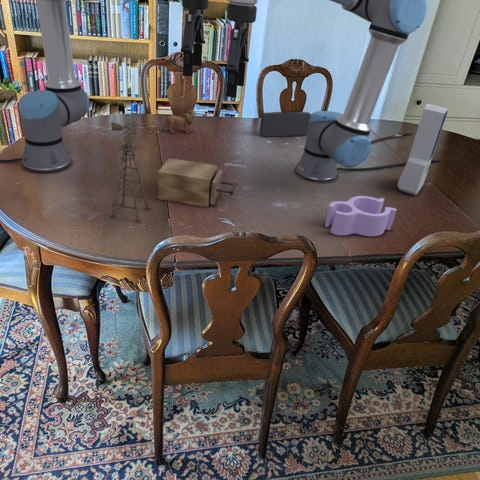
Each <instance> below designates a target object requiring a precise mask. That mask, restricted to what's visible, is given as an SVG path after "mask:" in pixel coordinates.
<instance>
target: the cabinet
mask: <svg viewBox="0 0 480 480" xmlns="http://www.w3.org/2000/svg"><path fill="white" fill-rule="evenodd" d="M218 168H219V167H218V165H216V164H209V163H205V162H204V163H203V162H198V161H197V162H196V161H190V160H185V159H184V160H183V159H179V158H178V159H177V158H172V157H169V158H167V160H166V161H165V162H164V164H163V165H162V166H161V168H160V169H159V170H158V171H157V175H158V176H157V180H158V181H157V184H158V185H157V189H158V190H157V191H158V192H157V198H158V200H160V201H161V200H162V201H167V202H174V203H181V204H185V205H191V206H197V207H203V208H209V206H210V205H211V193H210V195H209V192H210V181H211V179H212V177H213V180H214V178H215V176H216V174H217V172H218Z"/></svg>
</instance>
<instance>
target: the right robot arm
mask: <svg viewBox="0 0 480 480" xmlns="http://www.w3.org/2000/svg"><path fill="white" fill-rule="evenodd" d="M227 1H228V2H229V3H228V4H227V6H226V7H227V8H226V19H227V20H228V21H230V22H234V26H233V28H231V29H230V39H229V47H228V54H227V55H228V56H227V62H226V67H224V72H227V74H226V75H227V76H226V87H225V88H226V89H225V97H228V98H234V99H236V98H237V95H238V94H237V93H238V92H237V91H238V87H245V77H246V68H247V67H246V66H247V63H249V61H250V58H249V55H248V54H249V53H248V52H249V33H250V24H254V23H255V22H256V21H257V13H258V11H257V10H258V7H257V6H256V5H257V4H258V0H227ZM329 1H330V2H333V3H335V4H338V5H341V8H342V9H343V10H344V11H347V12H349V13H352V14H354V15H355V16H357V17H359V18H361V19H363V20H365V21H367V22H368V23H370V24H369V27H368V32H369V36H370V39H369V42H368V45H367V48H366V50H365V53H364V56H363V59H362V61H361V65H360V67H359V70H358V72H357V75H356V79H355V81H354V83H353V86H352V89H351V92H350V95H349V97H348V99H347V103H346V105H345V108H344V111H343V113H341V112H337V111H332V110H331V111H330V110H319V111H318V110H317V111H314V112H312V113H310V114H311V116H310V120H309V126H308V132H307V135H306V138H305V142H304V143H305V144H304V149H303V153H302V154H301V157H300V159H299V161H297V163H296V166H295V173H296V175H298V177H300V178H302V179H303V180H307V181H310V182H315V183H330V182H333V181H335V180H336V179H337V177H338V171H345V172H347V171H352V172H353V171H354V172H355V171H356V172H357V171H359V172H360V171H372V170H373V171H374V170H380V169H381V170H382V169H387V168H394V167H400V166H406V164H407V161H406V162H400V163H392V164H387V165H381V166H380V165H379V166H373V167H372V166H371V167H357V166H359V165H360V164H363V163H364V162H365V161H366V160H367V158H368V157H369V155H370V154H371V151H372V144H371V140H370V139H369V137H370V134H371V131H372V128H371V125H370V121H371V118H372V116H373V113H374V110H375V108H376V106H377V103H378V100H379V98H380V96H381V93H382V90H383V88H384V86H385V83H386V80H387V77H388V75H389V72H390V70H391V67H392V64H393V62H394V60H395V57H396V54H397V52H398V49H399V47H400V45H402V44H404V43H405V42H407V40H408V38H409V36H410V34H412V33H414V32H416V31H417V29H419V28H420V27H421V26H422V25H423V23H424V20H425V18H426V15H427V11H428V9H427V8H428V5H427V0H329ZM438 162H440V159H432V160H431V163H438ZM338 165H340V166H342V167H338Z"/></svg>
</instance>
